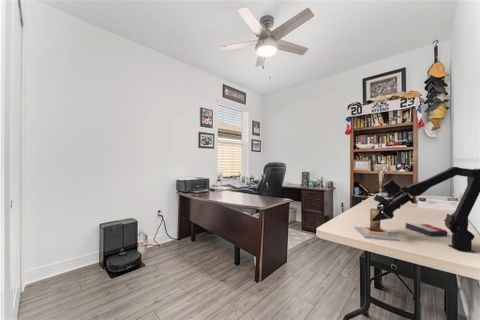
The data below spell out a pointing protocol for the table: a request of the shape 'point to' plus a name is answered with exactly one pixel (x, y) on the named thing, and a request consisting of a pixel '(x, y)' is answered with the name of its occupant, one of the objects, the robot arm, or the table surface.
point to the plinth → (376, 234)
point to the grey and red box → (426, 229)
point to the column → (374, 224)
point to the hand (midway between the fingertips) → (372, 218)
